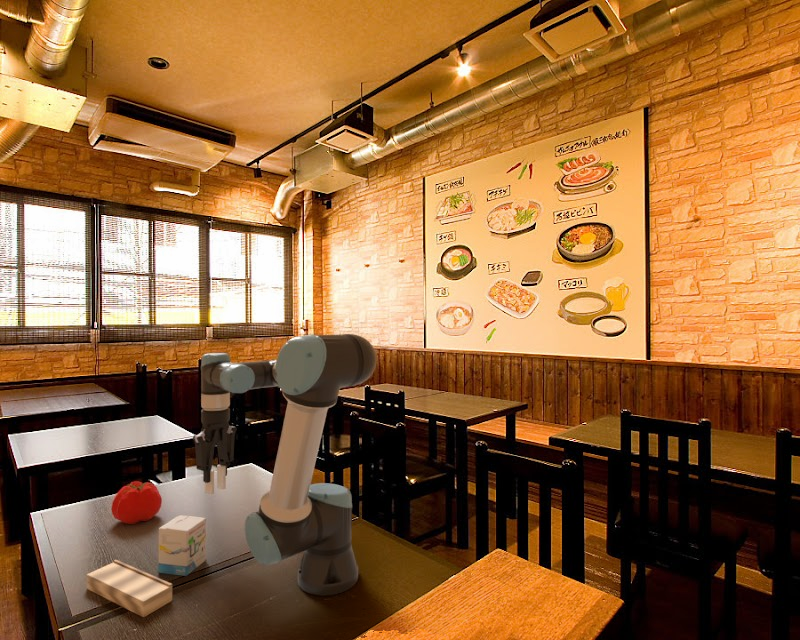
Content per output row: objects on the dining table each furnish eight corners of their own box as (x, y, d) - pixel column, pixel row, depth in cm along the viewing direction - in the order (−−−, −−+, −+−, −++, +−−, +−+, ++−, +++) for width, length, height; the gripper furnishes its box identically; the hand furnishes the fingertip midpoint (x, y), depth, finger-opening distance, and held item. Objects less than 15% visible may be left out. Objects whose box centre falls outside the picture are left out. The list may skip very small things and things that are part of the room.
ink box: (186, 576, 120) (186, 531, 119) (157, 572, 121) (157, 527, 121) (206, 559, 128) (207, 516, 128) (179, 556, 130) (179, 514, 129)
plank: (172, 600, 110) (172, 583, 110) (143, 617, 103) (143, 599, 103) (116, 574, 120) (116, 559, 120) (87, 588, 114) (86, 572, 114)
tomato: (164, 522, 150) (164, 485, 150) (112, 533, 142) (112, 494, 142) (158, 507, 161) (158, 473, 161) (110, 517, 153) (110, 481, 153)
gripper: (229, 402, 142) (229, 479, 143) (181, 411, 128) (181, 497, 128) (247, 404, 139) (247, 483, 139) (199, 414, 124) (199, 503, 125)
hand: (215, 490), depth 134 cm, fingers open, 3 cm apart
